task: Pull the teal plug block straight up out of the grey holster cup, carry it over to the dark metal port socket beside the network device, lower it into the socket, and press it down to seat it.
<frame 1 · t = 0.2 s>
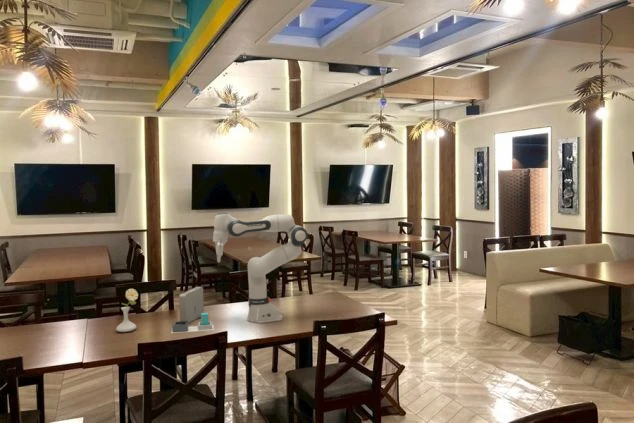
hand: (218, 261, 304), 39 cm above the table, tool pointing down, fingers open, 8 cm apart
board: (193, 331, 288), on the table
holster: (205, 325, 290), on the board, point 3 cm above the table
network device: (192, 322, 309), on the table
plug: (204, 320, 290), in the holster, point 6 cm above the table, touching board
port: (180, 329, 287), resting on board
flower in vase: (127, 330, 293), on the table
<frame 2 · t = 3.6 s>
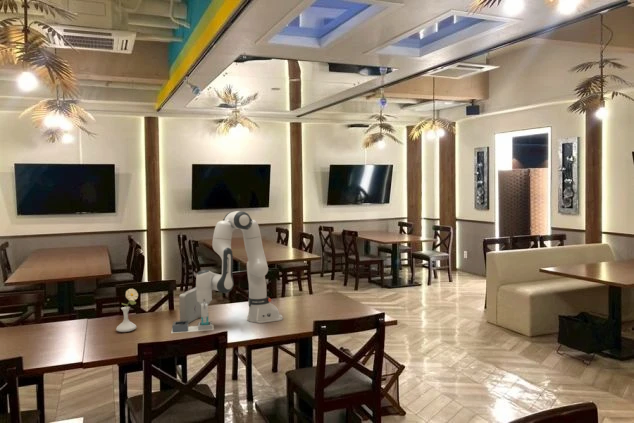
hand: (204, 321, 290), 6 cm above the table, tool pointing down, fingers closed on plug, 4 cm apart
plug: (204, 320, 290), in the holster, point 6 cm above the table, touching board, gripper
everything else where it was.
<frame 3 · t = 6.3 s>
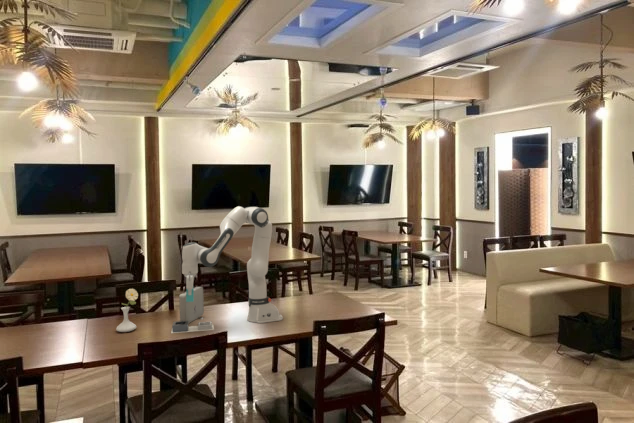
hand: (189, 294, 287), 22 cm above the table, tool pointing down, fingers closed on plug, 4 cm apart
plug: (190, 293, 287), point 22 cm above the table, touching gripper
everything else where it was.
when the fingers open (7 cm above the table, at t = 9.4 s): plug stays where it is, resting on board.
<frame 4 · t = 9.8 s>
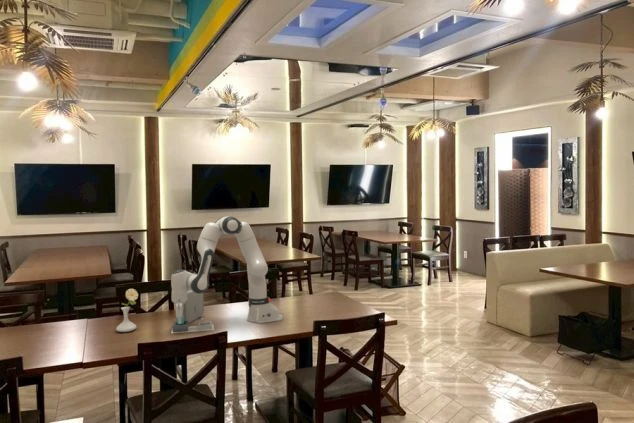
hand: (180, 321, 287), 7 cm above the table, tool pointing down, fingers open, 8 cm apart
plug: (180, 322, 287), in the port, point 6 cm above the table, touching board
everything else where it was.
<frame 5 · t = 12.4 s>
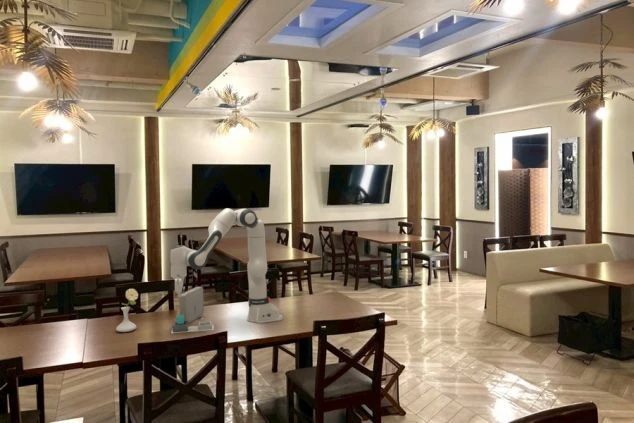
hand: (179, 296, 286), 21 cm above the table, tool pointing down, fingers closed
nothing on the table moved.
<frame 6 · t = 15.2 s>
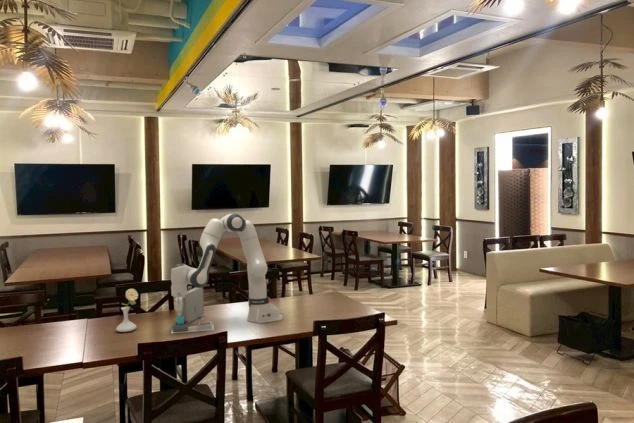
hand: (180, 315, 286), 10 cm above the table, tool pointing down, fingers closed, pressing on plug
plug: (180, 322, 287), in the port, point 6 cm above the table, touching board, gripper
everything else where it was.
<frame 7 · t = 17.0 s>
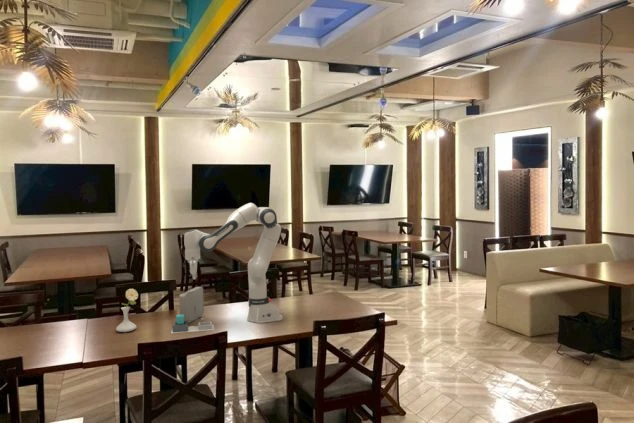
hand: (194, 279, 297), 29 cm above the table, tool pointing down, fingers closed
plug: (180, 322, 287), in the port, point 6 cm above the table, touching board
everything else where it was.
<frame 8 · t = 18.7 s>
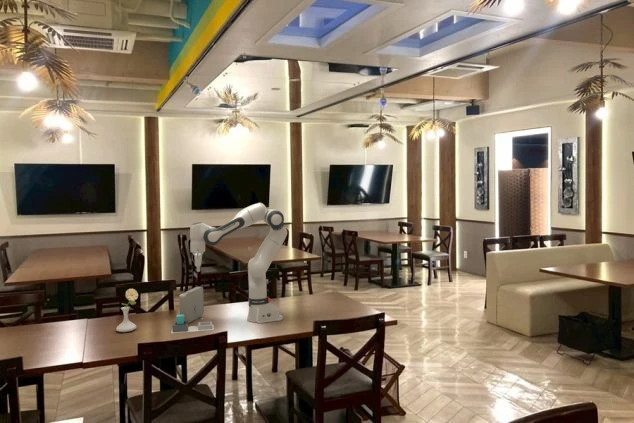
hand: (198, 271, 300), 33 cm above the table, tool pointing down, fingers closed
nothing on the table moved.
at the end: plug 0.0 cm off-centre on the port, point 4.2 cm above the port's base; plug tilted 0°; the gripper is holding nothing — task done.
